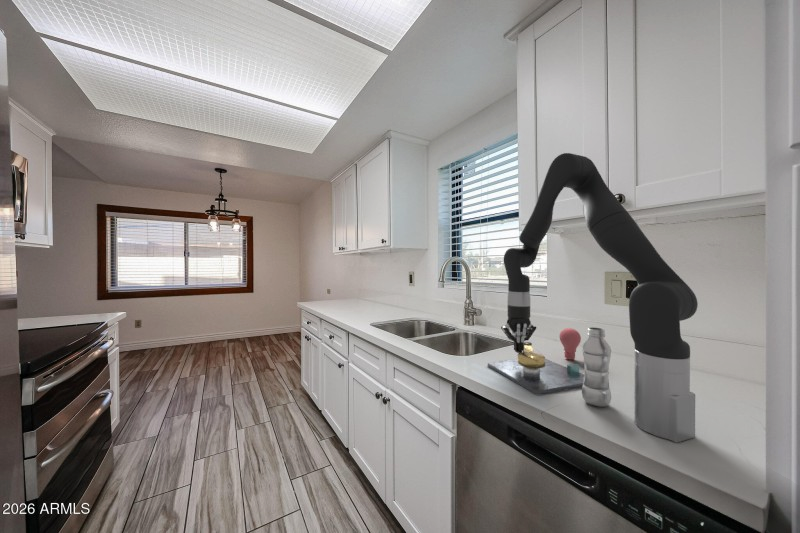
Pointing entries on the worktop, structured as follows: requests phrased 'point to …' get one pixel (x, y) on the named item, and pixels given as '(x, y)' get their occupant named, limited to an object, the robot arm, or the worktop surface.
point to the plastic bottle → (596, 368)
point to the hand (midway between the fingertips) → (518, 352)
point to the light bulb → (570, 342)
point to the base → (541, 376)
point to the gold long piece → (530, 357)
